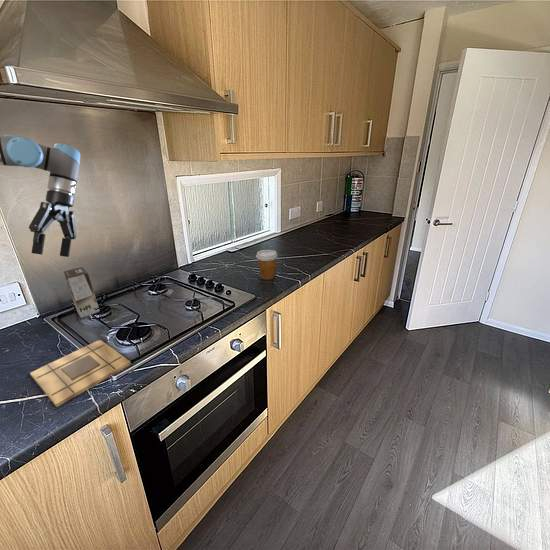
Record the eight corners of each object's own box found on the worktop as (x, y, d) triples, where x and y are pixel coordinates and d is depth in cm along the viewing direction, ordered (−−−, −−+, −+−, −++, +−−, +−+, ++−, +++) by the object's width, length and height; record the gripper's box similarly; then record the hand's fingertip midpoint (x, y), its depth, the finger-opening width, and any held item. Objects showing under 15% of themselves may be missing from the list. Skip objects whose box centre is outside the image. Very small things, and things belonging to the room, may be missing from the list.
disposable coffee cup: (265, 272, 140) (264, 248, 135) (282, 276, 134) (281, 251, 130) (253, 279, 133) (251, 254, 128) (269, 283, 127) (268, 258, 123)
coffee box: (100, 312, 109) (88, 272, 102) (81, 319, 105) (67, 278, 98) (94, 304, 115) (82, 266, 108) (75, 310, 111) (62, 271, 105)
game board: (57, 409, 68) (55, 403, 67) (31, 377, 78) (29, 372, 77) (131, 365, 81) (130, 360, 80) (101, 343, 91) (99, 338, 90)
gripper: (47, 183, 86) (36, 254, 86) (92, 203, 111) (84, 258, 111) (20, 178, 86) (9, 250, 85) (71, 200, 110) (63, 255, 110)
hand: (51, 255), depth 98 cm, fingers open, 13 cm apart
